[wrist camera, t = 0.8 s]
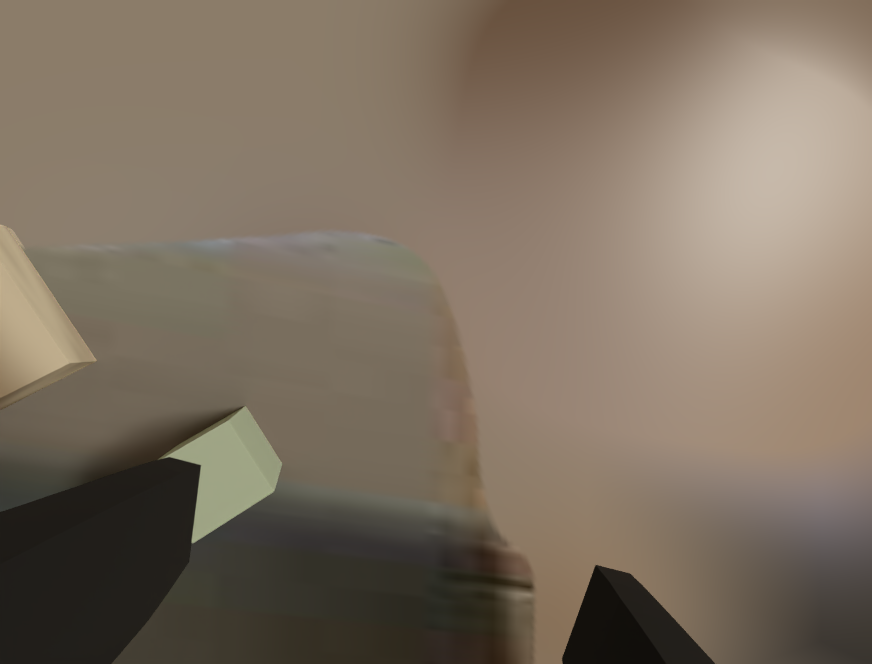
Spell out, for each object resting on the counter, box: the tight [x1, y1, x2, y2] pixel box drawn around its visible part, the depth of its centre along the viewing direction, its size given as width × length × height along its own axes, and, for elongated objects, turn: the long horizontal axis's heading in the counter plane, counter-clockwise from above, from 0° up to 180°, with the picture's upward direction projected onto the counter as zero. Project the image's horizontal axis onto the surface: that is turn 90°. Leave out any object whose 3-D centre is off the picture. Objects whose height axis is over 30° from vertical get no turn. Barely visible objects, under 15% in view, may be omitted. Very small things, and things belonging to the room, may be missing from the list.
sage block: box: [158, 406, 282, 543], centre depth 22 cm, size 4×4×5 cm
